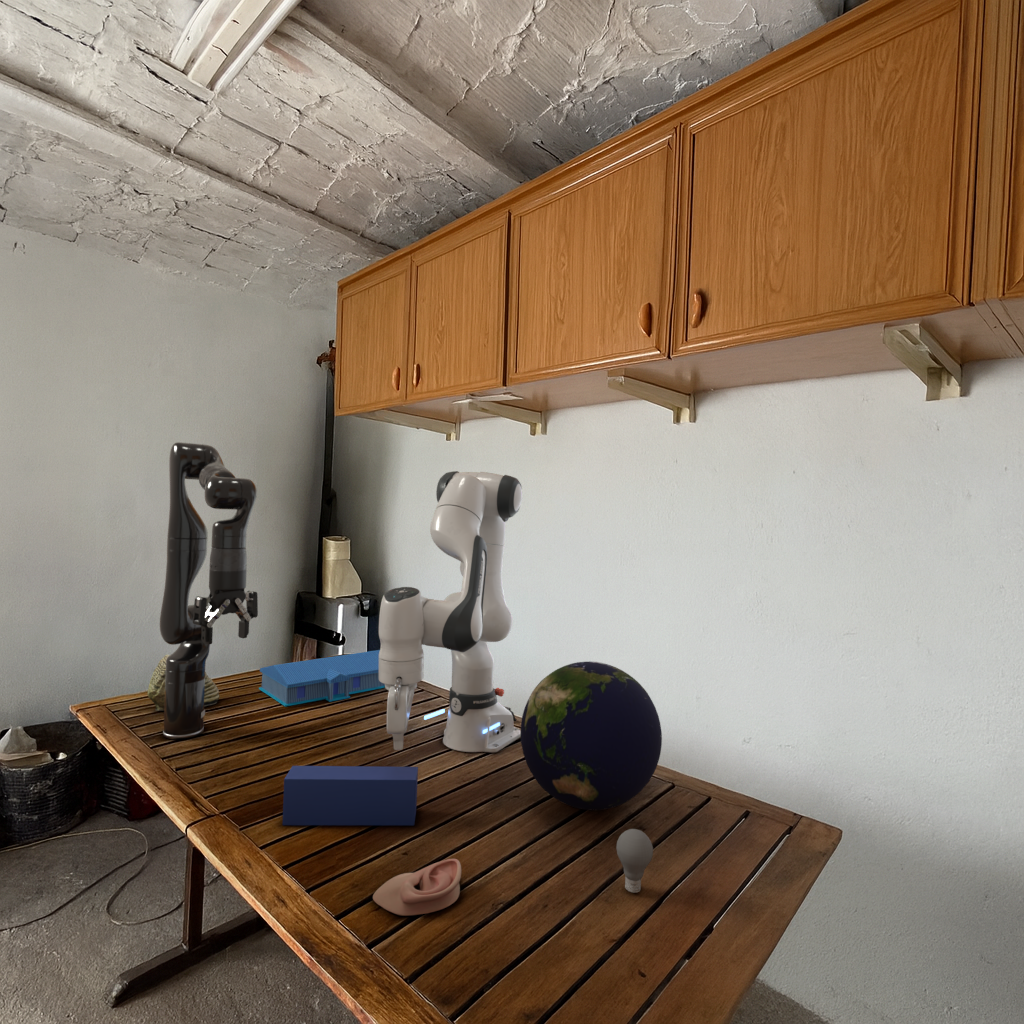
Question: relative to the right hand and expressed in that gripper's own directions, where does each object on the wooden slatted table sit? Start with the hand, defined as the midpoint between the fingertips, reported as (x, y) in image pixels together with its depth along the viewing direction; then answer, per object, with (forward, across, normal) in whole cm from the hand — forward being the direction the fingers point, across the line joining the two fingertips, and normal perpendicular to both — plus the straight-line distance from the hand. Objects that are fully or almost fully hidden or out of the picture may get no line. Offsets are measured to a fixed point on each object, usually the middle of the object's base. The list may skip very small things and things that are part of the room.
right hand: (400, 738), depth 126 cm
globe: (+17, +5, -39) cm, 43 cm away
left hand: (-16, +18, +40) cm, 47 cm away
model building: (+17, +84, +29) cm, 90 cm away
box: (+15, -1, +10) cm, 18 cm away
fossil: (+15, +64, +68) cm, 95 cm away
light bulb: (+17, -25, -40) cm, 51 cm away
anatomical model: (+15, -26, -5) cm, 30 cm away
